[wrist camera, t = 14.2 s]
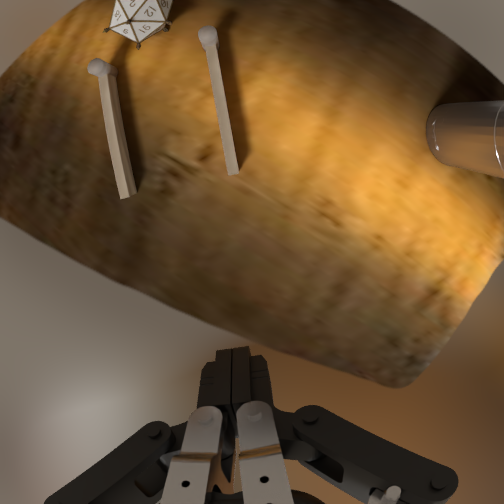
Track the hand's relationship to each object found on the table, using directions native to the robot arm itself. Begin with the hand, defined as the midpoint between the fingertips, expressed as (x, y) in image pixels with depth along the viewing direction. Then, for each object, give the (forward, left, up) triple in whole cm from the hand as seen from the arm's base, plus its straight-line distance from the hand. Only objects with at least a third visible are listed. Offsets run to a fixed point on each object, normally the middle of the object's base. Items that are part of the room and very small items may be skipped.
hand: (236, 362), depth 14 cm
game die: (+7, -28, -27) cm, 40 cm away
